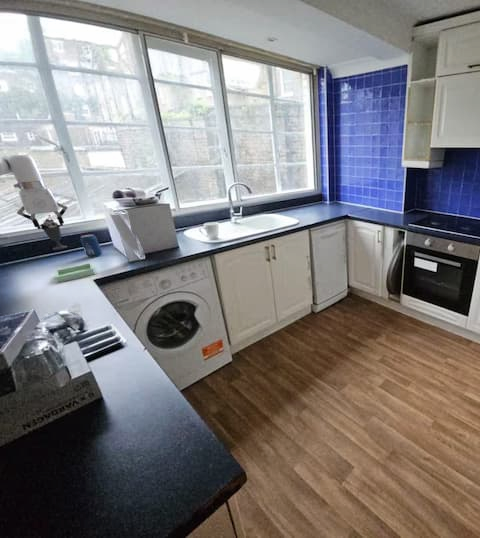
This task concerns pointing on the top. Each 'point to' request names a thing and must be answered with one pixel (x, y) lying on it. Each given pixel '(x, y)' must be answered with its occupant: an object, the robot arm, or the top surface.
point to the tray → (74, 272)
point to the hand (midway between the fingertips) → (50, 226)
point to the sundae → (53, 232)
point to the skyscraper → (128, 236)
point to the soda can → (91, 245)
